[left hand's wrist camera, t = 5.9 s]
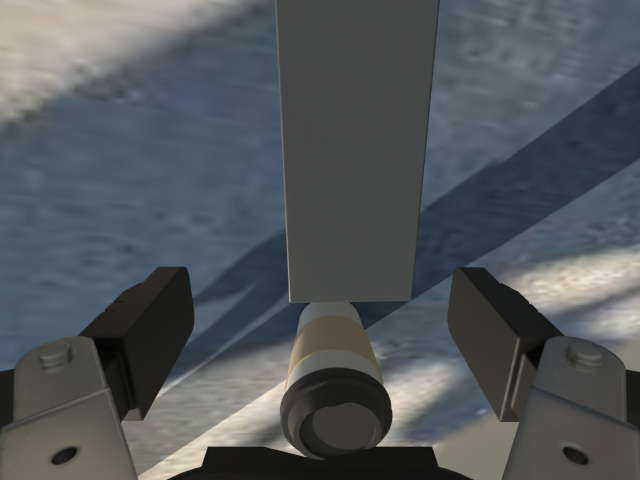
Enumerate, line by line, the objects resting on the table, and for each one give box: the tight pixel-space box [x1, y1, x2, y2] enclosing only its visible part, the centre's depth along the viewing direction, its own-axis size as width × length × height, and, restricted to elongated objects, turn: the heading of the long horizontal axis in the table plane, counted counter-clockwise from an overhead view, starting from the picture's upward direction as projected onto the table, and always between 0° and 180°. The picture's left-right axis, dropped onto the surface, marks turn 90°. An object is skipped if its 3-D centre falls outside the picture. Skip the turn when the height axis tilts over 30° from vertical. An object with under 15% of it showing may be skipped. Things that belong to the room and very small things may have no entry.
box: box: [275, 0, 440, 303], centre depth 18 cm, size 24×6×11 cm, turn 1°
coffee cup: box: [280, 302, 392, 460], centre depth 35 cm, size 9×9×15 cm
